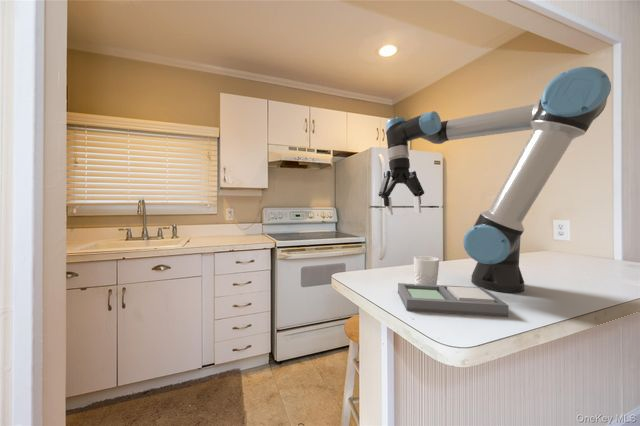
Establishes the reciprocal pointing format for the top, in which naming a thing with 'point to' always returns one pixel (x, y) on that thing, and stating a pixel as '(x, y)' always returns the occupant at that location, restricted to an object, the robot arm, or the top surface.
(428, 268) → the white cup
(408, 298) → the grey divided tray
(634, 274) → the top surface
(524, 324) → the top surface
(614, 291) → the top surface
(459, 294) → the white square tile
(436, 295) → the sage key
